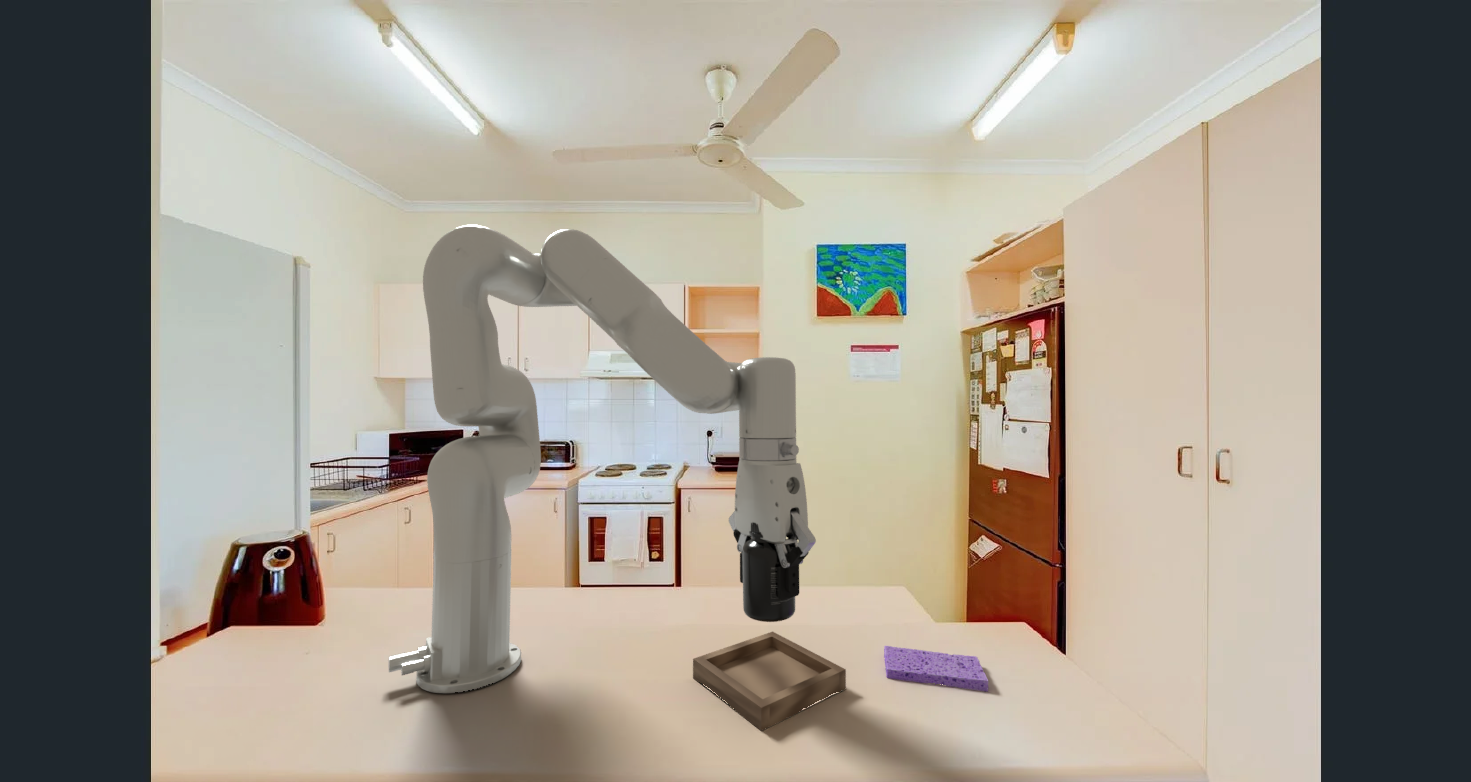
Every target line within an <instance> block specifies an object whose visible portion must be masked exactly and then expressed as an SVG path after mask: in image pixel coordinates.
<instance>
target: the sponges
mask: <svg viewBox="0 0 1471 782" xmlns="http://www.w3.org/2000/svg"><path fill="white" fill-rule="evenodd" d="M883 647H884V648H883V651H884V652H883V653H884V654H883V658H885V659H884V666H885V674H886V675H885V677H887V679H892V680H897V681H898V680H899V681H906V682H913V683H915V682H916V683H921V684H922V683H923V684H928V683H935V684H934V685H936V684H941V685H940V686H943V685H946V686H945V687H952V688H958V689H959V688H960V689H966V690H971V691H972V690H974V691H980V692H989V679H988V677H987V675H986V673H985V672H984V668H983V667H982V666H983V665H981V662H980V660H979V657H978V656H975V655H965V654H964V655H963V654H955V653H954V654H949V653H946V652H945V653H944V652H941V651H932V650H931V651H930V650H924V649H916V648H915V649H913V648H907V647H898V646H891V645H884V646H883ZM942 684H943V685H942Z"/></svg>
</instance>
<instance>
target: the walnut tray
mask: <svg viewBox="0 0 1471 782" xmlns="http://www.w3.org/2000/svg"><path fill="white" fill-rule="evenodd" d="M846 673H847V670H846V668H844V667H843V666H841V665H838V664H836V663H834V662H832V661H830V660H829V659H826V658H825V657H822V655H821V656H820V655H819V654H817V653H816V652H813V651H811V650H809V649H807V648H805V647H803V646H801V645H799V644H798V643H796V642H794V641H792V640H790V639H788V638H786V637H785V636H782V635H780V634H778V633H776V632H775V631H770V632H768V633H764V634H761V635H759V636H755V637H753V638H749V639H747V640H743V641H741V642H737V643H735V644H732V645H730V646H729V645H728V646H727V647H723V648H720V649H718V650H715V651H712V652H709V653H706V654H703V655H700V656H697V657H694V658H693V659H692V678H693V679H694V680H695V681H696V682H697V683H699V682H700V683H702V684H704V685H705V686H707V687H708V688H710V689H711V690H712V691H713V692H715V693H716V694H717V695H718V696H719V697H721V698H722V699H723V700H725V701H726V702H727V703H728V704H729V705H730V706H731V707H732V708H734V709H735V710H736V711H737V712H738V713H737V712H736V711H735V710H734V709H733V710H734V711H735V712H736V713H737V714H738V715H740V716H741V717H743V718H744V719H745V720H746V721H748V722H749V723H750V724H751V725H753V726H754V727H756V728H757V729H758V730H759V731H760V732H762V731H764V730H767V729H768V728H771V727H772V726H775V725H776V724H779V723H780V722H783V721H785V720H787V719H789V718H791V717H794V716H795V715H797V714H799V713H800V712H799V711H801V710H802V709H803V708H807V707H808V706H810V705H812V704H814V703H815V702H817V701H819V700H822V699H824V698H826V697H828V696H829V695H831V694H833V693H836V692H840V691H841V690H844V689H845V688H846V687H847V686H846V685H847V683H846V682H847V679H846V678H847V676H846V675H847V674H846ZM700 683H699V684H700ZM846 689H847V688H846ZM844 691H845V690H844ZM840 693H841V692H840ZM730 706H729V707H730ZM731 707H730V708H731ZM732 708H731V709H732ZM807 709H808V708H807ZM798 712H799V713H798ZM801 712H802V711H801ZM794 714H795V715H794ZM790 716H791V717H790Z"/></svg>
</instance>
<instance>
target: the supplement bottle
mask: <svg viewBox="0 0 1471 782" xmlns="http://www.w3.org/2000/svg"><path fill="white" fill-rule="evenodd" d="M749 534H750V535H751V538H750V539H749V540H748V541H746V542H745V544H744V546H743V549H742V561H743V583H742V602H743V603H742V605H743V606H742V607H743V608H742V609H743V612H744V614H745V615H746V616H747V617H748V618H750V619H751V620H754V621H758V622H765V623H766V622H767V623H777V622H782V621H786V620H789V619H790V618H791V617H792V616H794V614H795V613H796V596H795V597H791V598H788V599H785V600H781V599H779V598H778V596H777V568H778V566H782V565H781V563H780V559H779V556H778V553H777V549H776V546H775V544H773V543H770V542H767V541H765V540H763V539H761V538H763V535H762V534H761V532H759V527H758V524H757V525H756V523H754V522H752V523H751V531H749ZM785 547H786V550H787V553H788V554H789V553H790V551H791V550H790V547H789V545H787V546H785Z"/></svg>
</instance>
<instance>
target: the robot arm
mask: <svg viewBox="0 0 1471 782" xmlns="http://www.w3.org/2000/svg"><path fill="white" fill-rule="evenodd" d="M425 260H426V261H425V264H424V269H423V274H422V292H423V300H424V304H425V310H426V316H427V317H426V318H427V322H428V332H429V351H430V362H431V377H432V378H431V379H432V389H433V399H434V405H435V410H436V411H437V412H436V413H437V414H438V415H439V416H440V418H442V420H444V421H445V422H446V423H448V424H450V425H453V426H457V427H478V435H475V436H474V435H473V436H467V437H462V438H458V439H455V440H452V441H450V442H449V443H446V444H445V445H444V446H443V447H441V448H440V449H439V450H438V451H437V452H436V453H435V454H434V456H433V457H432V459H431V460H430V463H429V466H428V470H427V476H426V477H427V478H426V481H427V489H428V491H427V492H428V496H429V501H430V502H429V503H430V507H431V514H432V523H433V527H432V528H433V552H432V553H433V555H432V556H433V557H432V559H433V568H432V569H433V573H432V576H433V577H432V602H431V603H432V604H431V605H432V606H431V607H432V609H431V613H432V614H431V636H429V637H426V638H425V645H421V646H418V647H417V649H416V650H413V651H409V652H402V653H397V654H393V655H389V656H388V673H392V672H396V671H400V673H401V676H406V675H409V674H413V673H415V672H416V676H415V678H416V679H415V681H416V684H417V686H418V687H420V689H422V690H424V691H427V692H430V693H434V694H456V693H455V692H458V693H463V691H465V692H469V691H468V690H470V691H473V690H472V689H474V690H477V688H478V689H481V688H483V687H482V686H485V687H487V686H489V685H488V684H490V685H492V683H493V684H495V683H497V682H500V681H501V680H503V679H505V678H507V677H508V676H509V675H511V674H512V673H513V672H514V671H515V670H516V669H517V668H518V667H519V666H520V663H521V661H522V652H521V651H522V650H521V649H520V647H519V646H518V645H516V644H514V643H512V642H510V639H511V638H510V635H511V634H510V631H511V626H510V625H511V593H512V592H511V590H512V589H511V588H512V586H511V585H512V584H511V583H512V582H511V581H512V579H511V578H512V527H511V521H510V516H509V513H508V510H507V506H506V501H505V499H506V498H509V497H512V496H515V495H517V494H520V493H523V492H524V491H526V490H527V489H529V488H530V487H531V486H532V485H533V484H534V483H535V481H536V480H537V478H538V476H539V474H540V469H541V463H542V453H541V451H542V449H541V442H540V440H541V439H540V429H539V420H538V419H539V418H538V416H539V415H538V405H537V399H536V398H537V397H536V393H535V390H534V388H533V385H532V383H531V381H530V379H529V378H528V377H527V376H526V374H524V373H523V372H522V371H521V370H519V369H517V368H515V367H513V366H511V365H509V364H508V365H507V364H502V361H501V356H500V349H499V333H498V332H499V331H498V328H497V327H498V326H497V323H496V320H495V318H494V315H493V312H492V310H491V307H490V305H489V301H488V296H491V297H493V298H497V299H499V300H502V301H504V302H506V303H508V304H511V305H515V306H519V307H525V308H526V307H527V308H547V307H548V308H549V307H550V308H551V307H552V308H553V307H578V308H579V309H580V310H581V311H583V313H584V314H585V315H587V316H588V317H589V318H590V320H592V321H593V322H594V323H595V324H596V325H597V326H598V327H599V328H601V330H602V331H604V332H605V333H606V334H607V335H608V336H609V337H610V338H611V339H612V340H613V342H615V343H616V345H617V346H619V348H620V349H622V350H623V351H624V352H625V353H626V354H628V356H629V357H630V358H631V359H632V360H633V361H634V362H635V363H636V364H637V365H638V366H639V367H640V368H641V369H642V370H643V371H644V372H645V373H646V374H647V375H648V376H649V377H651V378H652V379H653V380H654V381H655V383H657V384H658V385H659V386H661V388H662V389H664V390H665V391H666V392H667V393H668V395H670V396H671V397H672V398H673V399H675V400H676V401H677V402H678V403H679V404H680V405H682V406H683V407H685V408H686V409H688V410H690V411H691V412H694V413H698V414H706V415H707V414H709V415H710V414H711V415H712V414H713V415H715V414H720V413H721V414H722V413H727V412H734V411H735V412H736V411H737V412H738V415H739V416H738V419H739V420H738V421H739V423H738V426H739V427H738V428H739V429H738V430H739V431H738V432H739V433H738V434H739V436H738V437H739V439H738V440H739V442H738V443H739V444H738V445H739V446H738V447H739V451H738V454H739V456H738V457H739V461H738V464H737V471H736V480H735V481H736V482H735V491H734V492H735V493H734V511H733V512H732V513H731V515H730V516H729V518H728V523H729V526H730V527H731V530H732V532H733V536H734V539H735V541H736V543H737V544H736V550H737V552H739V582H740V583H741V584H743V561H742V549H743V546H744V544H745V542H746V541H748V540H749V539H750V538H751V535H750V534H749V531H751V523H752V522H754V523H756V525H757V524H758V527H759V532H761V534H762V535H763V538H761V539H763V540H765V541H767V542H770V543H773V544H775V546H776V549H777V553H778V556H779V559H780V563H781V565H782V566H778V568H777V596H778V598H779V599H781V600H785V599H788V598H791V597H795V598H796V597H797V596H799V594H800V565H802V564H803V563H804V559H805V558H806V557H807V556H808V555H809V552H810V551H811V550H812V549H813V547H814V545H815V544H816V542H817V540H816V537H815V535H814V534H813V532H812V530H810V528H809V516H808V515H809V514H808V503H807V502H808V501H807V500H808V499H807V492H806V485H805V477H804V473H803V469H802V465H801V463H800V462H797V455H798V454H799V451H800V448H799V447H798V445H797V410H796V409H797V401H796V400H797V398H796V396H797V391H796V390H797V387H796V384H797V382H796V381H797V380H796V379H797V378H796V377H797V376H796V368H795V367H796V366H795V365H794V363H793V361H791V360H790V359H788V358H784V357H777V356H776V357H773V356H770V357H769V356H767V357H766V356H764V357H754V358H748V359H745V360H744V361H742V362H732V361H726V360H725V359H724V358H723V357H722V356H721V355H719V354H718V353H717V352H715V350H713V349H712V348H711V347H710V346H709V345H707V343H706V342H705V341H703V340H702V339H701V338H700V337H699V336H698V335H696V334H695V333H694V332H693V331H692V330H691V329H690V328H689V327H687V325H685V324H684V323H683V322H682V321H681V320H680V319H679V318H677V316H676V315H674V313H673V312H671V311H670V310H669V308H668V307H667V306H666V305H665V304H664V302H663V301H662V299H661V298H660V296H659V295H657V294H656V293H655V291H653V290H652V289H651V288H650V287H649V286H648V285H646V283H644V282H643V281H642V280H641V279H640V278H639V277H637V276H636V275H635V274H634V273H633V272H632V271H630V270H629V269H628V268H627V266H625V265H623V263H621V262H620V261H619V259H617V258H616V257H615V256H614V255H613V254H612V253H610V251H608V250H607V249H606V248H605V247H604V246H603V245H602V244H601V243H600V242H598V241H597V240H596V239H595V238H593V237H592V236H590V234H588V233H585V232H583V231H581V230H577V229H574V228H567V229H565V228H564V229H559V230H557V231H555V232H553V233H552V234H550V235H549V236H548V237H547V238H546V240H544V242H543V244H542V247H541V250H540V252H539V253H533V252H531V251H530V250H529V249H527V248H525V247H524V246H522V245H520V244H519V243H517V242H516V241H515V240H514V239H512V238H510V237H509V236H507V235H505V234H503V233H501V232H499V231H497V230H495V229H493V228H490V227H487V226H483V225H478V224H465V225H461V226H457V227H455V228H453V229H451V230H450V231H448V232H446V233H444V235H442V237H440V238H439V239H438V241H437V242H436V243H434V245H433V247H432V249H431V250H430V252H429V254H428V256H427V258H426V259H425ZM787 545H789V547H790V550H791V551H790V553H789V554H788V553H787V550H786V547H785V546H787ZM486 685H487V686H486ZM480 687H481V688H480Z"/></svg>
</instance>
